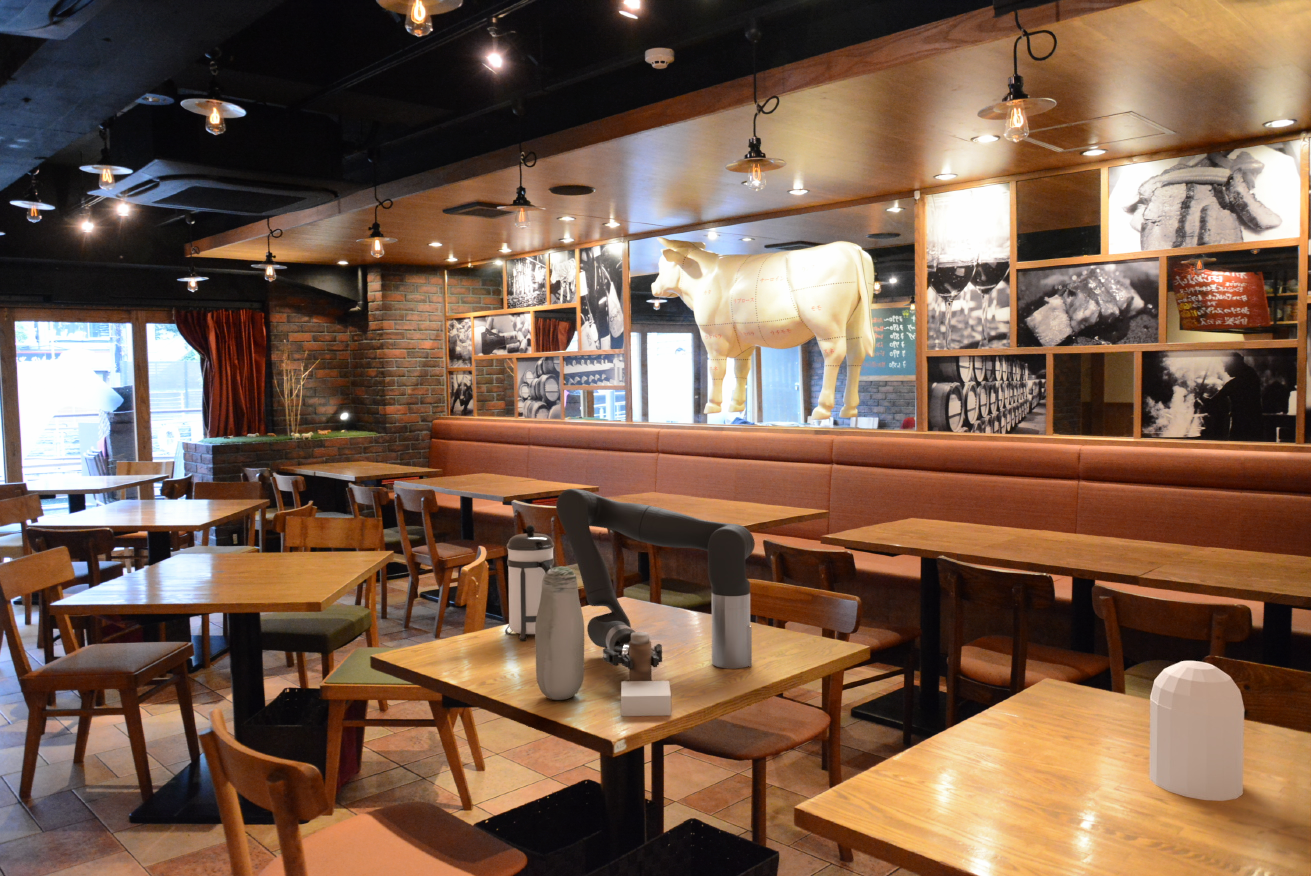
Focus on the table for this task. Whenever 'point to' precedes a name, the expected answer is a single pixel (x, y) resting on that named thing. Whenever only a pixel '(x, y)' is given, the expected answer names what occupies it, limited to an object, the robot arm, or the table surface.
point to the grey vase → (559, 635)
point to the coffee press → (527, 578)
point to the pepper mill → (640, 657)
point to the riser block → (645, 698)
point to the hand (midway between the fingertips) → (643, 663)
